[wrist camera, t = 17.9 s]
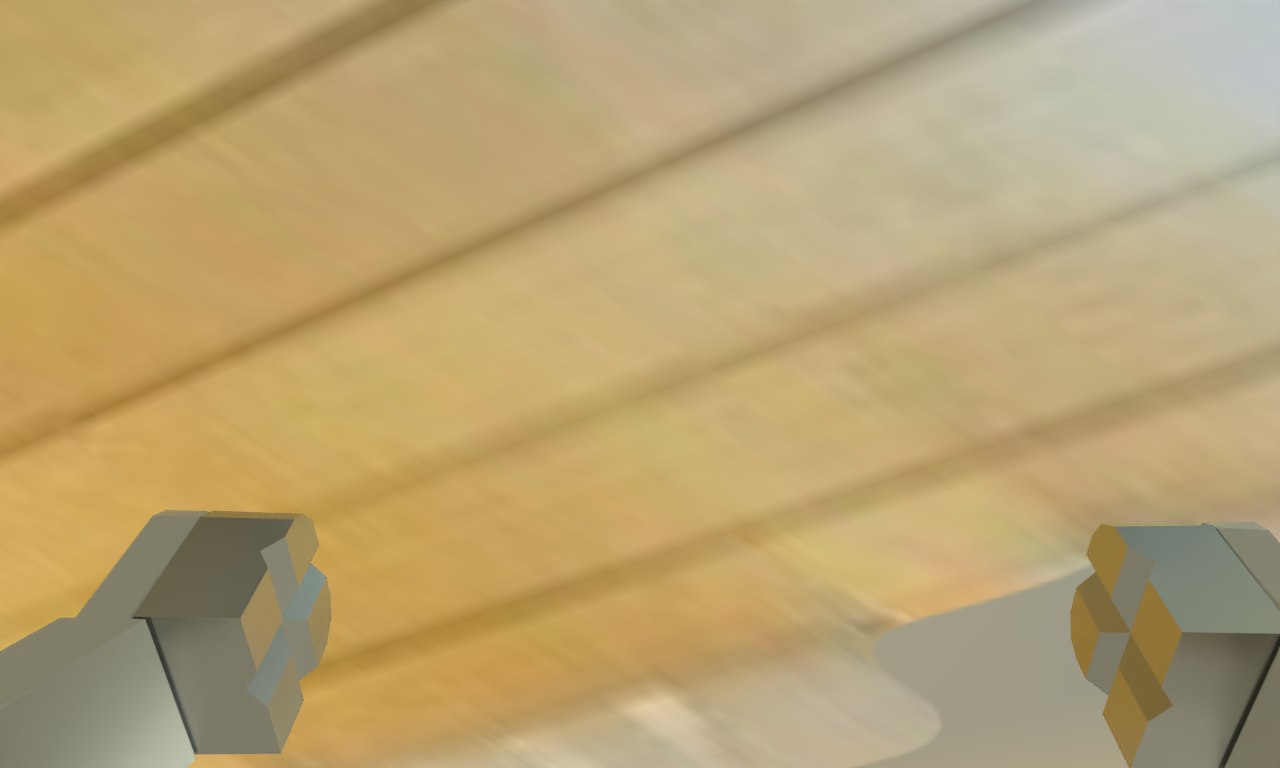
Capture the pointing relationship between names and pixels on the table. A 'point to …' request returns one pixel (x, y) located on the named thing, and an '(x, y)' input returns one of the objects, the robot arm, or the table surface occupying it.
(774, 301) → the table surface
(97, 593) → the robot arm
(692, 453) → the table surface
